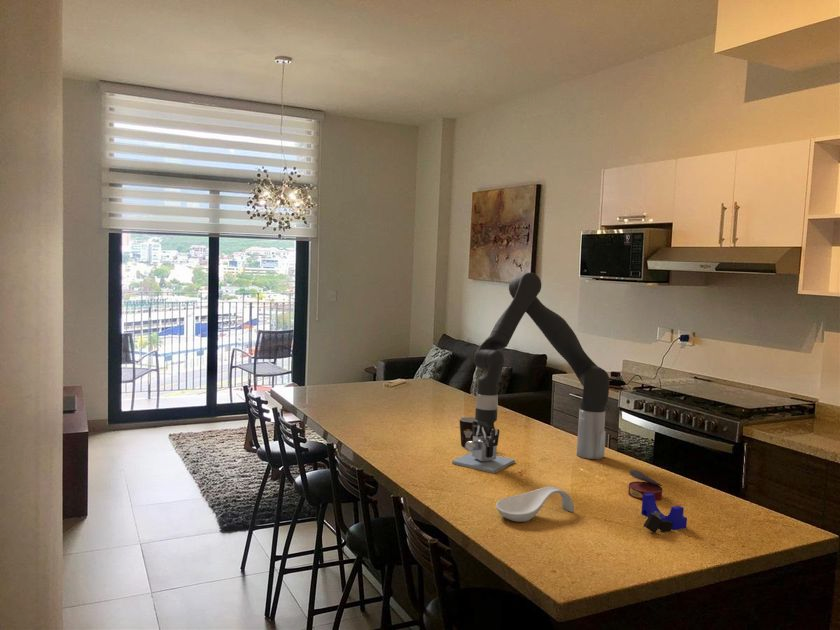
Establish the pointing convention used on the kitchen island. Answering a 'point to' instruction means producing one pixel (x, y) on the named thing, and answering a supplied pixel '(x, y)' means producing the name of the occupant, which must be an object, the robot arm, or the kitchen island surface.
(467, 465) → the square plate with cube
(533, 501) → the spoon rest
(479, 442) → the cube on steel peg
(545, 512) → the kitchen island surface
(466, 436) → the coffee mug
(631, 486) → the canned food
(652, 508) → the cable clip
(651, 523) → the black notched bracket
